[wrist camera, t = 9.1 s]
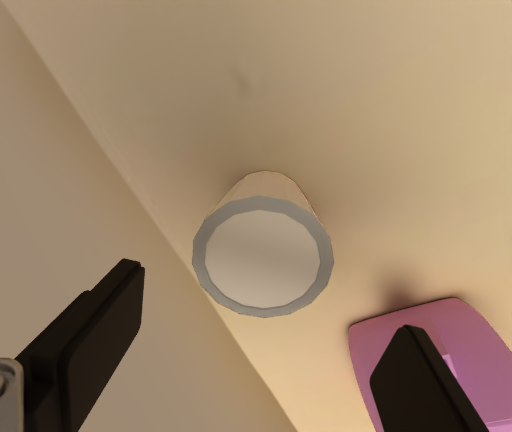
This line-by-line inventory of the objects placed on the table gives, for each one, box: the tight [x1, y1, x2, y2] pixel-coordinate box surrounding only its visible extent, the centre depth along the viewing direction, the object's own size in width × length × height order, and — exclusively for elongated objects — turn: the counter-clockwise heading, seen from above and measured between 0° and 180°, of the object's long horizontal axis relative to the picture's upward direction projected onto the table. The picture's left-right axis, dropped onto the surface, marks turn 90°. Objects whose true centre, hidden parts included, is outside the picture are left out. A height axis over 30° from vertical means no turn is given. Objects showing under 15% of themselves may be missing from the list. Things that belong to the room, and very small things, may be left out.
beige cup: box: [192, 171, 334, 318], centre depth 16 cm, size 7×7×7 cm
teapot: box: [349, 298, 512, 432], centre depth 19 cm, size 18×10×10 cm, turn 24°
